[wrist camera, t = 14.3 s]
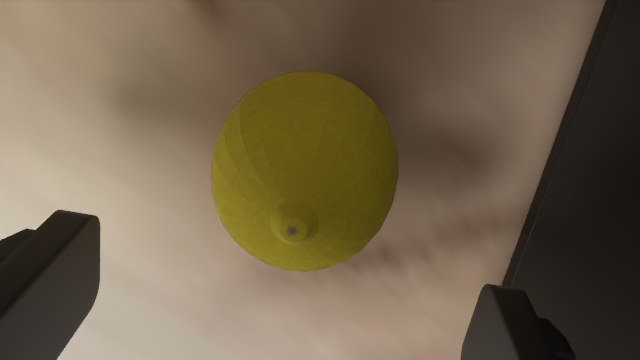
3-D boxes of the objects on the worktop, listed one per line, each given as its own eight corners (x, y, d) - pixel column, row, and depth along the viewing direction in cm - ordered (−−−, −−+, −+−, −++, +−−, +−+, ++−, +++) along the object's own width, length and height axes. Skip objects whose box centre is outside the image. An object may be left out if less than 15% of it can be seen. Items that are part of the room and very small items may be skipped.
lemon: (274, 21, 19) (226, 79, 12) (417, 89, 20) (453, 183, 13) (218, 156, 22) (148, 274, 14) (349, 213, 22) (346, 354, 15)
